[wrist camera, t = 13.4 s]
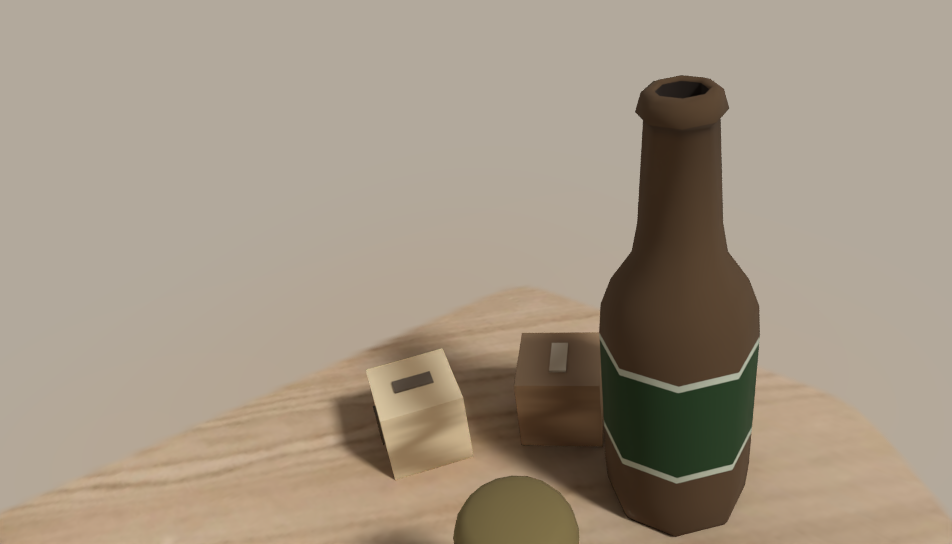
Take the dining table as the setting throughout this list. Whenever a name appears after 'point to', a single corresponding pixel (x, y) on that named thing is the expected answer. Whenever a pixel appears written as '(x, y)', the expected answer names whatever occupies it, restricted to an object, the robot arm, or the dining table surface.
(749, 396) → the beer bottle
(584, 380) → the walnut cube marked
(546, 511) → the cork
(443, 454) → the beech cube marked
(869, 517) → the dining table surface
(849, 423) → the dining table surface
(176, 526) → the dining table surface
